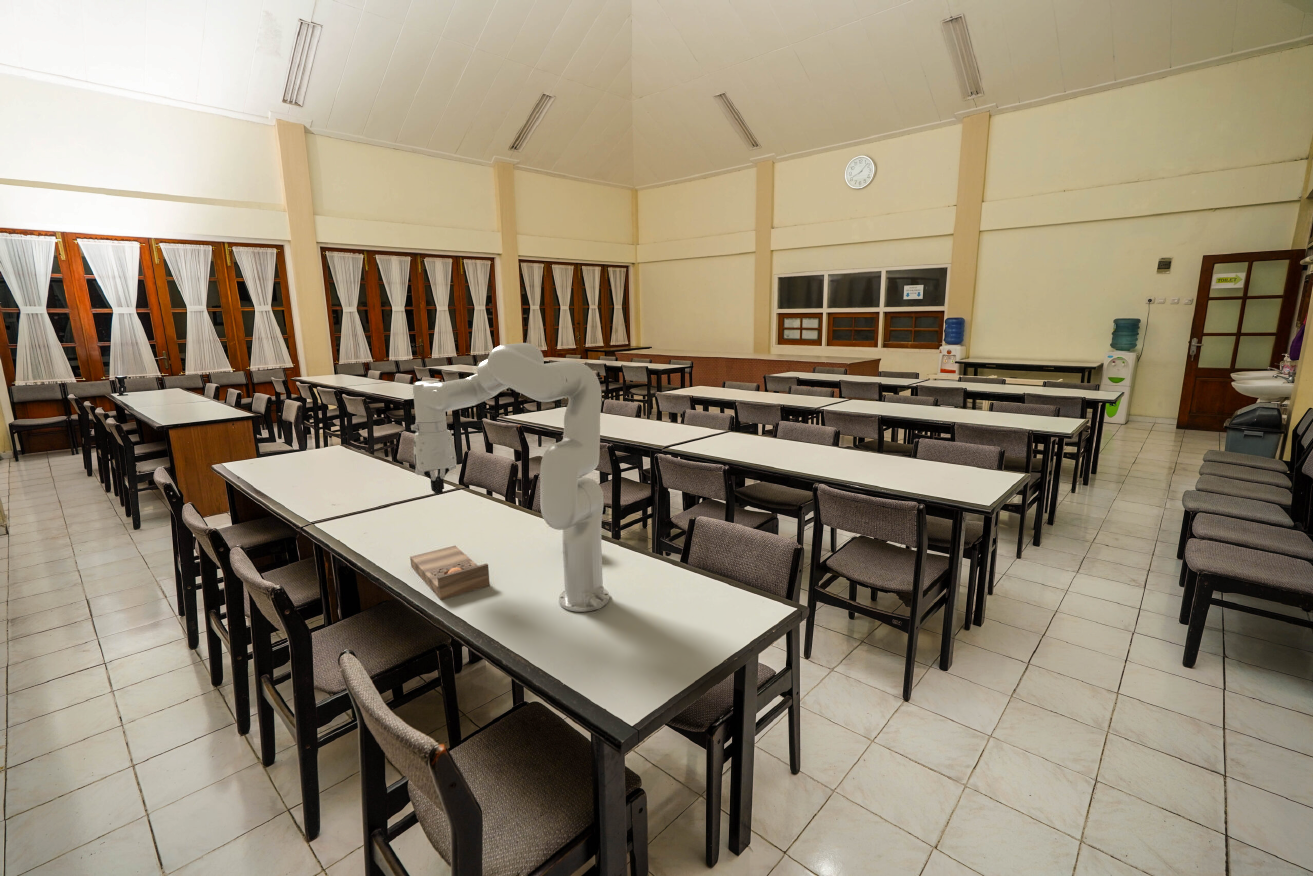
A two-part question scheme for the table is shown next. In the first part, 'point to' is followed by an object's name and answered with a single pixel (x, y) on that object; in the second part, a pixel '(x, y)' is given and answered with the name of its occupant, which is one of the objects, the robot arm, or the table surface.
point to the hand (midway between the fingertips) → (438, 492)
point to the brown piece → (447, 585)
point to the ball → (454, 570)
